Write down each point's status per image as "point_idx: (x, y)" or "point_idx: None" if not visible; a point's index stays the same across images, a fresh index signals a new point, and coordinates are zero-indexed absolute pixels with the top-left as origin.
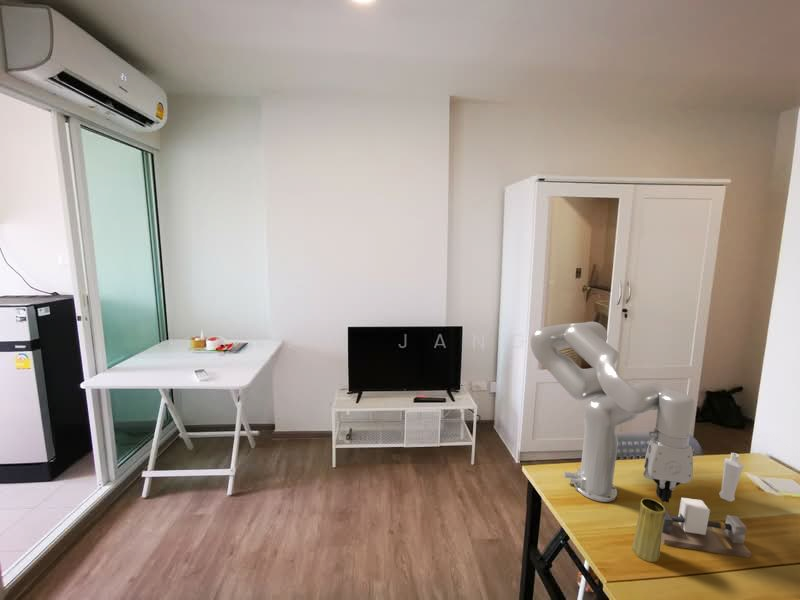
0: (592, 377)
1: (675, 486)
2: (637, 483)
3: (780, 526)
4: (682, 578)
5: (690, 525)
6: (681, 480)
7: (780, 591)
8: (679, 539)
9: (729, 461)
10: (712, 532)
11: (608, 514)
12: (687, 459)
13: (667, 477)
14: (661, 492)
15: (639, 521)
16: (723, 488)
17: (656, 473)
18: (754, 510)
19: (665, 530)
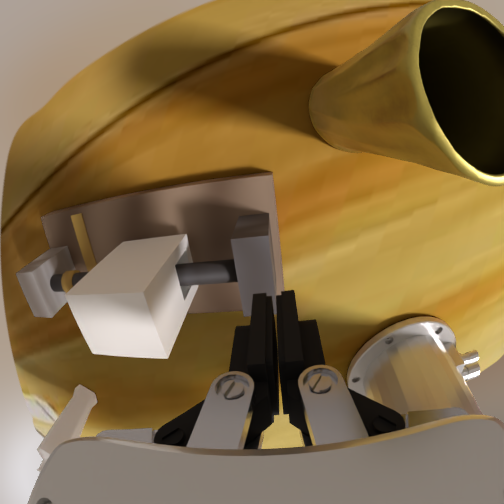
0: None
1: (200, 403)
2: None
3: (18, 331)
4: (255, 31)
5: (160, 247)
6: (134, 469)
7: (27, 120)
8: (213, 195)
9: None
10: None
11: (413, 268)
12: None
13: (336, 496)
14: (304, 344)
15: (458, 96)
16: (83, 409)
17: (489, 482)
18: (48, 365)
19: (259, 217)
